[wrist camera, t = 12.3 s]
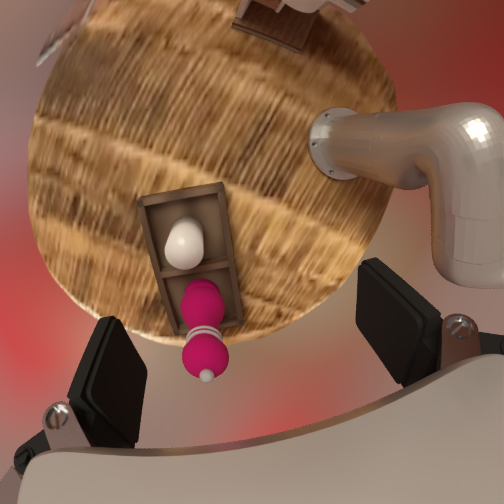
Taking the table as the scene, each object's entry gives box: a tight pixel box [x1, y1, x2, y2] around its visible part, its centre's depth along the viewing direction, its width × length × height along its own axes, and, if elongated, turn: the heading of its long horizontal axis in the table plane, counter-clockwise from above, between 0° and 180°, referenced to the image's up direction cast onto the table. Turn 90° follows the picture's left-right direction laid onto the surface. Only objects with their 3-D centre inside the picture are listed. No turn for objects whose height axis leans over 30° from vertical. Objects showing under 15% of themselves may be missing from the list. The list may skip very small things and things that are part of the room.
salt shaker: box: [165, 215, 203, 270], centre depth 38 cm, size 5×5×9 cm
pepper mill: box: [180, 278, 229, 383], centre depth 38 cm, size 7×7×20 cm
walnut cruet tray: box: [137, 182, 244, 335], centre depth 44 cm, size 13×25×3 cm, turn 7°
